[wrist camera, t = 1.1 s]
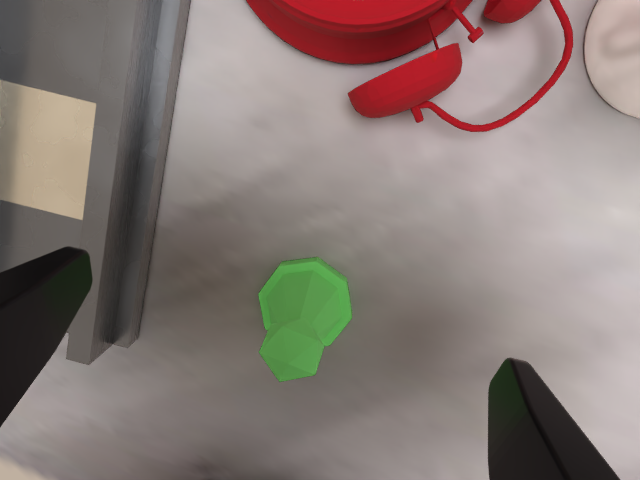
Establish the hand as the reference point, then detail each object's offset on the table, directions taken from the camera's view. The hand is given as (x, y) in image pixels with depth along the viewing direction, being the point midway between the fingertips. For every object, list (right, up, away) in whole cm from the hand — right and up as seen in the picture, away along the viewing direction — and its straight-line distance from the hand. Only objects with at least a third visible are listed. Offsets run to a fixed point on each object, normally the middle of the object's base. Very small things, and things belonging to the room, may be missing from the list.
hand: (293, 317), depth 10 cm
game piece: (0, -1, +12) cm, 12 cm away
